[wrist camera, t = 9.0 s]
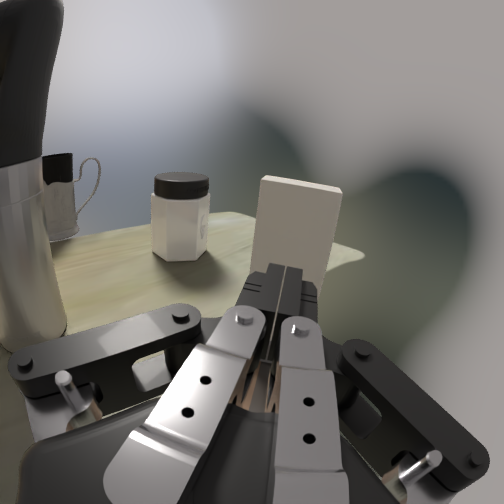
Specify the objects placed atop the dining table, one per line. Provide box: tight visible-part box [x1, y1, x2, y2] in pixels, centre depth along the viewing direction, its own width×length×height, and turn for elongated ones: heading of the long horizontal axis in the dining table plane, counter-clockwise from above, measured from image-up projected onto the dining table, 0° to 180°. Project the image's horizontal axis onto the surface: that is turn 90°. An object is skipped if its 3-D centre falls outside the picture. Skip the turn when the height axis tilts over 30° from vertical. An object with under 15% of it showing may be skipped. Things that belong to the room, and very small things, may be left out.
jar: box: [151, 172, 210, 262], centre depth 42 cm, size 9×8×12 cm
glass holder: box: [42, 153, 101, 241], centre depth 44 cm, size 9×14×15 cm, turn 137°
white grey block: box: [249, 175, 343, 363], centre depth 20 cm, size 3×5×14 cm, turn 79°
